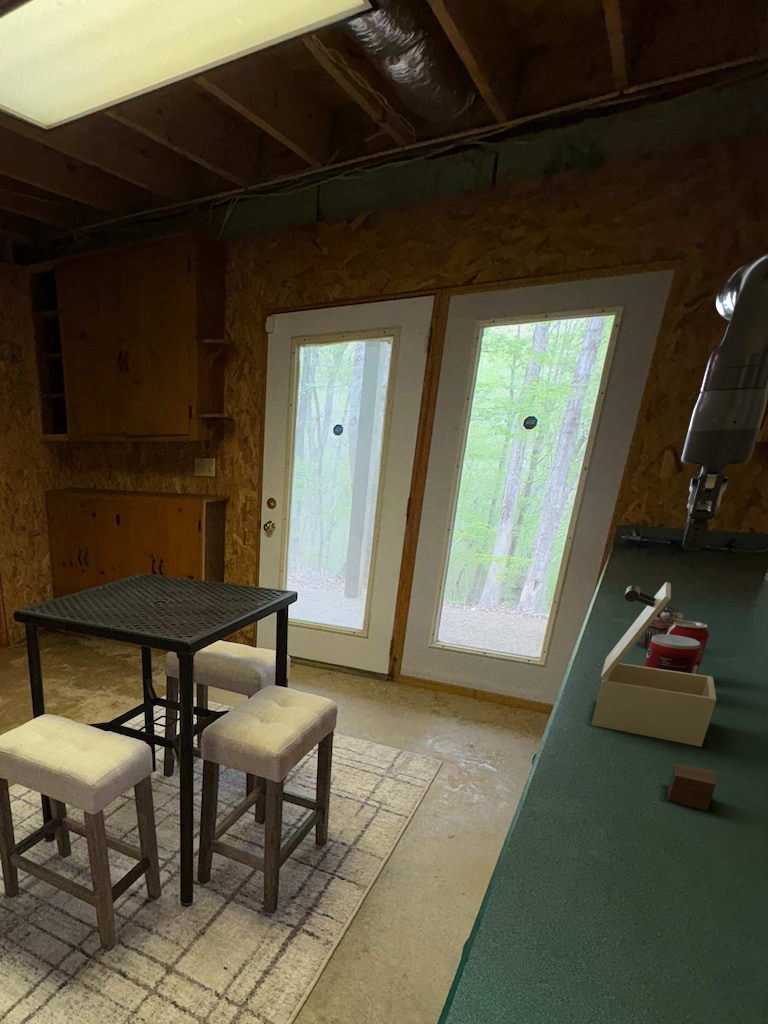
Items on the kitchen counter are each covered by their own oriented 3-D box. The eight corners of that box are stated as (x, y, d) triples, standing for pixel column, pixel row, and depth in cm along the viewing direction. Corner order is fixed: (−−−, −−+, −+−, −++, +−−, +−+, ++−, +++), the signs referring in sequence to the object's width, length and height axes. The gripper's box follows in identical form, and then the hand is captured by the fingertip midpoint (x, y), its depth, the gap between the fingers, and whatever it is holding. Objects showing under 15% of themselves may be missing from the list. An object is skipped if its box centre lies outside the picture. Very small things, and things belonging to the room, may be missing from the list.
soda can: (700, 684, 130) (717, 629, 126) (661, 681, 132) (676, 626, 128) (688, 673, 136) (704, 620, 131) (651, 670, 138) (665, 618, 134)
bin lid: (671, 583, 110) (638, 570, 112) (670, 598, 101) (635, 583, 103) (610, 660, 119) (581, 646, 121) (605, 680, 110) (574, 664, 112)
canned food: (659, 682, 131) (674, 632, 127) (695, 696, 124) (712, 644, 120) (628, 686, 130) (641, 635, 126) (662, 700, 123) (677, 647, 119)
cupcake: (663, 656, 146) (675, 615, 143) (626, 644, 155) (636, 605, 152) (695, 652, 148) (708, 611, 145) (657, 640, 157) (667, 602, 154)
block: (667, 789, 93) (675, 763, 91) (705, 797, 90) (714, 771, 89) (667, 802, 90) (675, 775, 88) (706, 811, 87) (715, 784, 86)
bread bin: (698, 721, 114) (712, 676, 110) (701, 747, 104) (716, 699, 101) (597, 703, 123) (607, 661, 119) (591, 726, 113) (602, 681, 110)
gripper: (764, 425, 78) (726, 555, 84) (756, 425, 89) (723, 541, 95) (688, 428, 83) (657, 551, 89) (689, 427, 93) (661, 538, 99)
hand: (691, 545), depth 92 cm, fingers open, 8 cm apart
